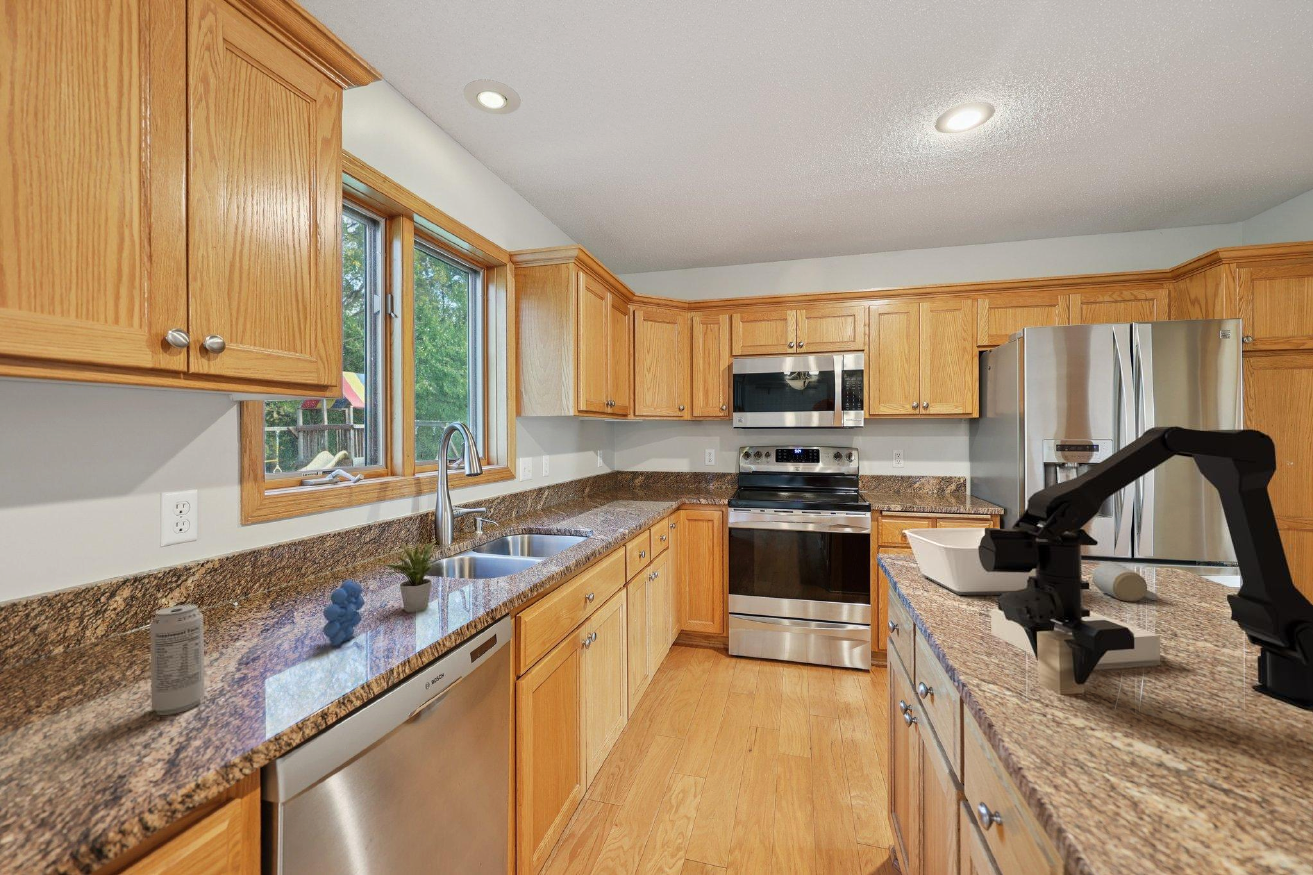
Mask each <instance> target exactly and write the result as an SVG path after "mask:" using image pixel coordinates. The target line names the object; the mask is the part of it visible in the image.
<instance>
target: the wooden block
mask: <svg viewBox="0 0 1313 875" xmlns="http://www.w3.org/2000/svg"><path fill="white" fill-rule="evenodd" d="M1066 639H1074V637H1073V636H1072V635H1071V634H1068V633H1066V632H1063V631H1061V630H1056V631H1041V632H1037V653H1038V661H1037V683H1038V684H1040V685H1042V686H1044V687H1045V688H1048V689H1049V690H1051V691H1053V692H1055V693H1057V694H1058V695H1061V696H1062V695H1070V694H1071V695H1072V694H1073V695H1074V694H1084V693H1085V683H1084V684H1081V685H1078V684H1076V682H1075V677H1074V669H1073V656H1072V649H1071V648H1070V647H1069V646H1068V645H1067V644H1066V643H1065V641H1064V640H1066Z"/></svg>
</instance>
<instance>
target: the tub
mask: <svg viewBox="0 0 1313 875" xmlns="http://www.w3.org/2000/svg"><path fill="white" fill-rule="evenodd" d="M985 528H986V527H945V528H943V527H941V528H935V527H934V528H910V529H906V530H905V531H904V533H905V536H906V537H907V540H908V542H909V545H910V547H911V550H912V552H913V555H914V557H915V560H916V562H917V565H918V568H919V570H920V573H921V574H922V576H923V577H924V578H925V577H926V578H925V579H927V578H928V579H927V580H929V579H930V580H929V581H931V580H932V581H931V582H933V581H934V582H933V583H935V584H936V585H938V584H939V586H940V585H941V587H942V586H943V587H942V588H944V587H945V588H944V589H946V588H947V589H946V590H948V589H949V591H950V590H951V591H950V592H952V593H954V594H957V595H958V596H960V595H974V596H1001V595H1002V594H1003V593H1013V592H1015V591H1017V590H1021V589H1024V588H1027V580H1028V579H1029V576H1036V575H1035V569H1032V570H1031V572H1029V573H1020V572H987V571H986V570H985V569H984V568H983V567H982V564H981V562H980V559H979V552H978V546H980V542H981V539H982V537H983V536H984V535H985Z"/></svg>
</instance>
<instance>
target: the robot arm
mask: <svg viewBox="0 0 1313 875" xmlns="http://www.w3.org/2000/svg"><path fill="white" fill-rule="evenodd" d="M1275 445H1276V444H1275V442H1274V440H1273V438H1271V436H1270V435H1268V434H1266V433H1264V432H1262V431H1260V430H1257V429H1252V428H1249V429H1248V428H1247V429H1246V428H1245V429H1244V428H1242V429H1209V430H1200V429H1192V428H1185V427H1182V426H1178V425H1175V426H1171V425H1170V426H1156V427H1155V426H1153V427H1151V428H1149V429H1146V430H1145V431H1144V432H1143V433H1142V435H1141V436H1139V437H1138V438H1136V439H1134V440H1133V441H1132V442H1130V443H1129V444H1127V445H1125V446H1124V447H1122V448H1121V449H1118V451H1116V452H1115V453H1113V454H1111V455H1110V456H1108V457H1106V458H1105V459H1103V460H1102V461H1100V462H1099V463H1097V464H1096V465H1094V466H1092V467H1091V468H1090V469H1088V470H1087V471H1085V472H1083V473H1081V475H1078V476H1077V477H1074V478H1072V479H1069V480H1065V481H1061V482H1057V483H1055V484H1052V485H1050V486H1047V487H1045V488H1043V489H1040V490H1038V491H1037V492H1034V493H1033V494H1032V495H1031V496H1030V497H1028V500H1027V507H1026V509H1025V510H1024V511H1023V513H1022V514H1021V515H1020V516H1019V518H1018V519H1017V520H1016V522H1014V524H1013V525H1012V527H1011V528H996V527H984V528H985V535H984V536H983V537H982V539H981V542H980V546H978V552H979V559H980V562H981V564H982V567H983V568H984V569H985V570H986V571H987V572H1020V573H1029V572H1031V570H1032V569H1035V575H1036V576H1029V579H1028V580H1027V588H1024V589H1021V590H1017V591H1015V592H1013V593H1003V594H1002V595H999V598H998V600H997V601H998V602H997V603H998V608H997V609H998V610H1001V611H1003V612H1004V615H1005V618H1006V619H1007V620H1009V621H1010V620H1011V621H1013V622H1016V623H1018V624H1019V625H1020V626H1022V627H1023V628H1024V630H1025V632H1026V634H1027V636H1028V639H1029V641H1030V644H1031V646H1032V649H1033V651H1034V654H1035V656H1034V657H1035V659H1036V661H1037V662H1038V653H1037V632H1041V631H1054V626H1055V623H1056V624H1059V625H1061V626H1064V627H1066V628H1069V629H1071V630H1072V636H1073V637H1074V639H1066V640H1064V641H1065V643H1066V644H1067V645H1068V646H1069V647H1070V648H1071V649H1072V656H1073V669H1074V677H1075V682H1076V684H1078V685H1081V684H1084V685H1085V683H1086V682H1087V680H1088V679H1089V677H1090V676H1091V674H1092V672H1094V671H1095V670H1094V668H1095V666H1096V665H1097V663H1098V662H1099V660H1100V659H1101V658H1102V657H1103V656H1104V654H1105V653H1106V652H1107V651H1113V650H1127V649H1135V647H1134V634H1133V633H1132V632H1131V631H1130V630H1129V629H1128V628H1127V627H1124V626H1121V625H1118V624H1116V623H1113V622H1110V621H1107V620H1094V621H1084V620H1081V619H1082V617H1090V611H1091V610H1090V609H1088V608H1086V607H1083V590H1090V582H1089V581H1085V580H1083V579H1082V578H1083V576H1082V575H1083V574H1082V546H1097V545H1098V544H1099V542H1098V541H1097V540H1096V539H1095V538H1094V537H1091V535H1089V533H1087V531H1086V530H1085V529H1084V527H1085V525H1087V524H1088V523H1089V522H1090V521H1091V520H1092V519H1093V518H1095V517H1096V516H1097V514H1098V513H1099V512H1100V510H1101V509H1102V507H1103V504H1104V502H1106V501H1107V500H1108V499H1109V498H1110V497H1111V496H1113V495H1114V494H1116V493H1118V492H1119V491H1121V490H1123V489H1124V488H1125V487H1128V486H1129V485H1131V484H1132V483H1133V482H1135V481H1137V480H1138V479H1140V478H1141V477H1143V476H1145V475H1146V474H1147V473H1149V472H1151V471H1152V470H1154V469H1156V468H1157V467H1159V466H1160V465H1162V464H1163V463H1165V462H1167V461H1168V460H1170V459H1172V458H1173V457H1175V456H1179V457H1186V458H1191V459H1193V460H1194V462H1195V464H1196V466H1197V468H1198V471H1199V473H1200V474H1202V476H1203V477H1204V478H1205V479H1206V480H1207V481H1208V482H1209V483H1210V484H1211V485H1212V486H1213V487H1214V488H1215V489H1216V491H1217V493H1218V495H1219V499H1220V503H1221V506H1222V510H1223V512H1224V517H1225V521H1226V524H1227V527H1228V532H1229V536H1230V540H1231V543H1232V547H1233V550H1234V555H1235V557H1236V558H1235V559H1236V561H1237V565H1238V569H1239V573H1240V576H1241V579H1242V581H1241V582H1242V584H1241V586H1240V587H1239V590H1238V592H1237V594H1227V595H1226V601H1227V603H1228V605H1229V608H1230V612H1231V614H1230V615H1231V616H1230V620H1231V621H1234V622H1236V623H1237V625H1238V627H1239V628H1240V629H1241V631H1244V633H1245V634H1246V637H1247V638H1248V642H1249V643H1250V644H1251V645H1254V646H1258V647H1260V648H1259V649H1260V652H1259V653H1260V655H1257V656H1256V657H1257V664H1256V665H1257V682H1258V684H1252V685H1251V689H1253V690H1255V691H1257V692H1260V693H1262V694H1265V695H1267V696H1269V697H1273V698H1276V699H1278V700H1281V701H1283V702H1286V703H1288V704H1291V705H1294V706H1297V707H1299V708H1301V709H1305V710H1313V604H1312V602H1311V601H1310V600H1309V599H1308V598H1307V597H1306V596H1305V595H1304V594H1303V592H1302V591H1300V590H1299V588H1297V587H1296V585H1295V583H1294V581H1293V578H1292V574H1291V570H1290V566H1289V562H1288V561H1287V556H1286V553H1285V552H1286V551H1285V549H1284V545H1283V541H1282V538H1281V533H1280V530H1279V527H1278V523H1277V519H1276V516H1275V515H1276V514H1275V513H1274V509H1273V504H1272V501H1271V497H1270V493H1269V489H1268V487H1269V484H1270V483H1271V480H1272V478H1273V476H1274V474H1275V472H1276V470H1277V457H1276V455H1277V454H1276V446H1275ZM1065 620H1066V621H1065Z"/></svg>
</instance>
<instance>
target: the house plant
mask: <svg viewBox="0 0 1313 875" xmlns="http://www.w3.org/2000/svg"><path fill="white" fill-rule="evenodd" d="M436 542H437V540H436V541H435V540H434V541H432V542H429V543H425V545H424V546H423V547H422V548H421V551H420V553H419V547H420V546H419V545H420V544H419V541H417V543H415V544H416V547H415V549H414V548H410V547H409V546H408V545H406V544H404V543H402V545H403V546H402V545H400V547H401V549H403V550H404V552H405V554H406V555H407V557H408V559H409V561H408V560H406V558H405V557H404V556H402V555H401V554H399V553H397V552H394V551H389V550H385V552H386V553H388V555H392V556H395V557H396V558H397V559H398V560H400V561H401V562H402V563H403V565H401V564H395V563H379V565H381V566H385V569H389V570H392V571H391V572H389V573H388V574H386V577H389V576H390V575H393V574H396V573H397V574H399V576H400V577H402V578H404V579H405V580H404V581H402V582H400V583H399V588H400V593H401V599H402V604H403V609H404V611H405V612H409V613H412V612H413V613H414V612H420V611H424V610H426V609H427V608H428V607H429V602H430V595H431V589H432V583H433V580H432V579H430V578H425V576H426V575H427V574H428V572H429V571H430V570H432V569H434V568H436V567H438V565H434V564H433V562H430V563H429V561H430V560H431V559H432V557H433V555H434V554H436V552H437V549H435V550H434V551H433V548H435V543H436ZM411 550H412V552H411ZM432 551H433V553H431V552H432ZM389 553H393V554H389ZM409 562H410V563H409ZM430 565H432V567H429V566H430ZM386 567H388V568H386ZM440 567H441V568H443V567H442V565H440ZM385 569H384V570H385ZM403 575H404V576H403Z"/></svg>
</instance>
